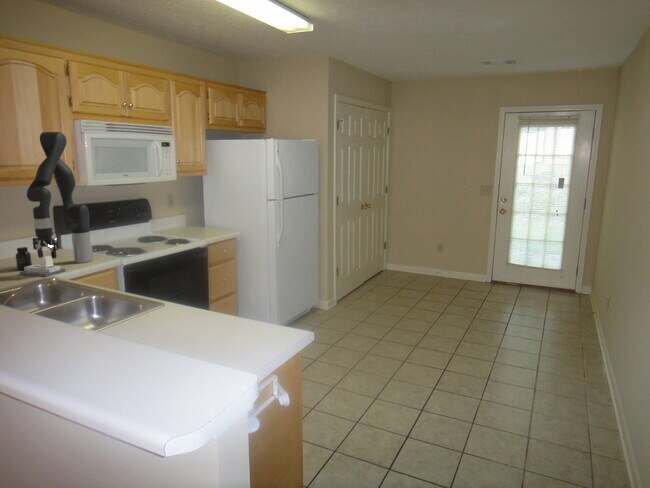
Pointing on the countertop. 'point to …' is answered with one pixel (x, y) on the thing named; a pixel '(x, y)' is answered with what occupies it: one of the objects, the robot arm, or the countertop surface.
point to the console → (41, 270)
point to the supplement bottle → (23, 258)
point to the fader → (47, 262)
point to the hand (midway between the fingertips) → (47, 257)
